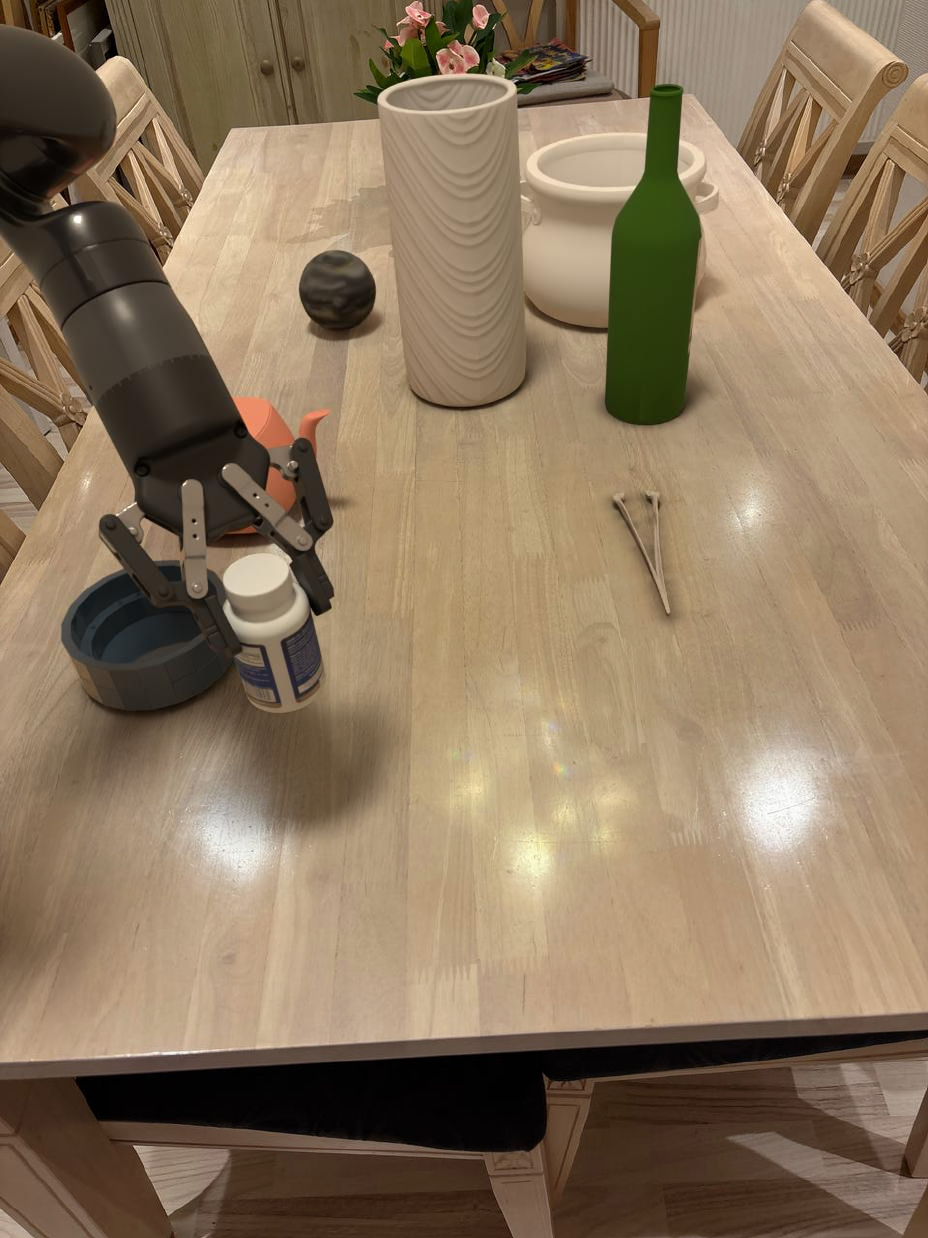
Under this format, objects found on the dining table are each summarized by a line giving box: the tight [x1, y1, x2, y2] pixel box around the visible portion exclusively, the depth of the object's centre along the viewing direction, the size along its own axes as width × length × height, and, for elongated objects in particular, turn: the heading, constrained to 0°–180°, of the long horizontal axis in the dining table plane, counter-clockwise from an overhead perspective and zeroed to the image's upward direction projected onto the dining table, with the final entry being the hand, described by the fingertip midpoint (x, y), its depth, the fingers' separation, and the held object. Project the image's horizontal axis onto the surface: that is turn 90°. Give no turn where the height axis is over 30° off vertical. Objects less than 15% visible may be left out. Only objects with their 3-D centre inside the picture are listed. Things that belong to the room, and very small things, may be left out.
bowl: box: [60, 559, 235, 712], centre depth 82 cm, size 14×14×6 cm
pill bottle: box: [222, 552, 326, 714], centre depth 61 cm, size 5×5×10 cm
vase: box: [376, 73, 527, 408], centre depth 106 cm, size 14×14×32 cm
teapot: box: [224, 396, 331, 535], centre depth 96 cm, size 13×20×12 cm, turn 85°
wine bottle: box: [604, 83, 702, 426], centre depth 99 cm, size 9×9×32 cm
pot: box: [520, 131, 720, 329], centre depth 125 cm, size 26×24×18 cm
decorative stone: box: [298, 249, 377, 332], centre depth 126 cm, size 10×10×10 cm
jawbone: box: [611, 489, 671, 615], centre depth 90 cm, size 17×5×2 cm, turn 3°
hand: (280, 631), depth 59 cm, fingers closed on pill bottle, 5 cm apart
